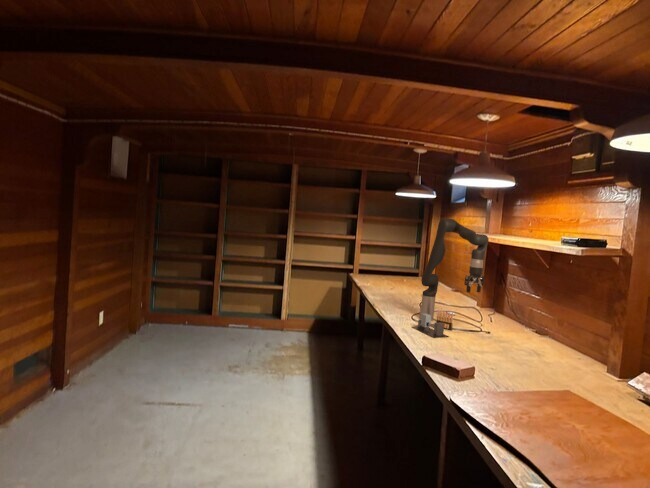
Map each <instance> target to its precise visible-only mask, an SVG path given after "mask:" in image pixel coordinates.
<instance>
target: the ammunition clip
mask: <svg viewBox="0 0 650 488" xmlns="http://www.w3.org/2000/svg"><path fill="white" fill-rule="evenodd" d="M453 322H454V313H453V312H451V311H449V312H448V311H445V310H444V311H443V310H442V309H441V310H437V315H436V320H435V323H443V324H444V330H445V331H449V332H451V331H453Z"/></svg>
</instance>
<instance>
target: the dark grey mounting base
mask: <svg viewBox="0 0 650 488" xmlns="http://www.w3.org/2000/svg"><path fill="white" fill-rule="evenodd" d="M420 323H421V319H418V320H417V326H411V328H412V329H414V330H416V331H418V332H420V333H422V334H424V335H426V336H429V337H430V338H433V339H437V338H438V339H439V338H440V339H441V338H442V339H443V338H450V336H449V335H446V334H444V330H445V329H444V324H443V323H436V322H434V324H432V323H431V324H429V323H427V324H426V325H428V326H430V327H423V326H421V325H420Z"/></svg>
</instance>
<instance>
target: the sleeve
mask: <svg viewBox="0 0 650 488" xmlns="http://www.w3.org/2000/svg"><path fill="white" fill-rule="evenodd" d="M420 320H421V323H420V325H421V326H423V327H429V328H431V326H428V325H426V324H427V323H429V324H432V323H431V322H432V321H431V315H429V314H421V319H420Z"/></svg>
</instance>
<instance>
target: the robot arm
mask: <svg viewBox="0 0 650 488" xmlns="http://www.w3.org/2000/svg"><path fill="white" fill-rule="evenodd" d="M446 233H454V234H458V235H459V237H460V238H462V239H464V240H465V241H467V242H468V243H469V244H471V245H473V246H477V248H474V249H472V252H471V257H470V262H469V271H468V272H469V275H467V274H466V275H465V277H464V284H463V285H464V286H466V293H469V294H470V293H471V289H472V285H473V284H476V292H477V293H479V294H480V293H481V289H482V287H483V286H485V275H483V269H484V256H485V252H486V249H487V247H488V245H489V237H488V235H487V234H483V233H481V234H480V233H476V231H474V230H473V229H470V228H468V227H465V226H464V225H462V224H460V223H459V222H458V221H457V220H455V219H453V218H444V217H443V218H441V219H440V220H439V222H438V225H437V228H436V233H435V238H434V242H433V245H432V249H431V251H430V253H429V254H430V255H429V259H428V261H427V264H426V266H425V269H424V271H423V273H422V276H421V279H420V282H421V285H422V286H423V287H428V288H426V289H425V290H423V291H422V296H421V304H420V309H419V318H420V319H419V320H421V314H429V315H431V322H432V321H434V316H435V314H434V313H435V305H436V297H437V296H436V295H437V293H438V288H439V276H438V275H437V274H436V273H433V272H434V270H435V269H436V268H437V267H438V266H439V265H440V264H441V263H442V261H443V260H444V258H445V255H446V250H447V249H446V245H445V242H444V241H445V240H444V239H445V235H446Z"/></svg>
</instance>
